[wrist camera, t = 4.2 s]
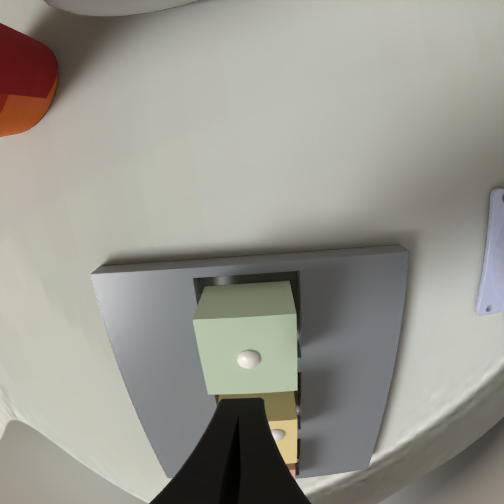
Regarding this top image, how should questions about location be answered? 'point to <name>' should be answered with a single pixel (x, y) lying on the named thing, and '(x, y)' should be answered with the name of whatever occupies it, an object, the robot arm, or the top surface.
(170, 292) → the grey slotted tray
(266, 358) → the tile one pip
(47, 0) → the donut
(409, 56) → the top surface
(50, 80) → the paper cup
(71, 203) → the top surface
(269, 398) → the tile two pips
